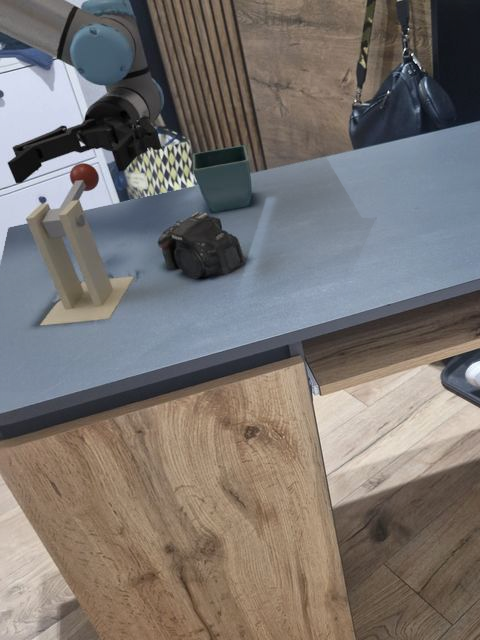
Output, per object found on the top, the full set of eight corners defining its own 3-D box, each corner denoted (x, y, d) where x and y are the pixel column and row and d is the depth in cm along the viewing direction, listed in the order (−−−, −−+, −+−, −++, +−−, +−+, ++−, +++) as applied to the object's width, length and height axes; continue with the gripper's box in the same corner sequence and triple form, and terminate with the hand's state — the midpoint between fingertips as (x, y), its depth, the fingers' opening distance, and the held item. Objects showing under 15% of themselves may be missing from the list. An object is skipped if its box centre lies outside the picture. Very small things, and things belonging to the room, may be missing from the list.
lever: (80, 183, 88) (70, 159, 86) (106, 180, 88) (95, 157, 86) (47, 243, 78) (33, 218, 76) (75, 240, 78) (62, 214, 76)
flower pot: (260, 213, 105) (248, 159, 100) (206, 223, 104) (192, 169, 99) (255, 195, 112) (245, 143, 107) (205, 204, 111) (192, 153, 106)
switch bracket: (74, 289, 90) (36, 195, 82) (137, 283, 89) (104, 188, 81) (43, 332, 81) (-4, 232, 73) (112, 326, 80) (72, 223, 72)
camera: (155, 287, 87) (136, 229, 82) (182, 258, 94) (166, 203, 89) (233, 288, 84) (218, 228, 79) (255, 258, 91) (242, 201, 86)
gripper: (202, 135, 100) (170, 184, 82) (48, 153, 101) (-15, 205, 84) (190, 85, 95) (153, 125, 78) (29, 104, 97) (-42, 148, 80)
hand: (65, 167), depth 81 cm, fingers open, 13 cm apart
